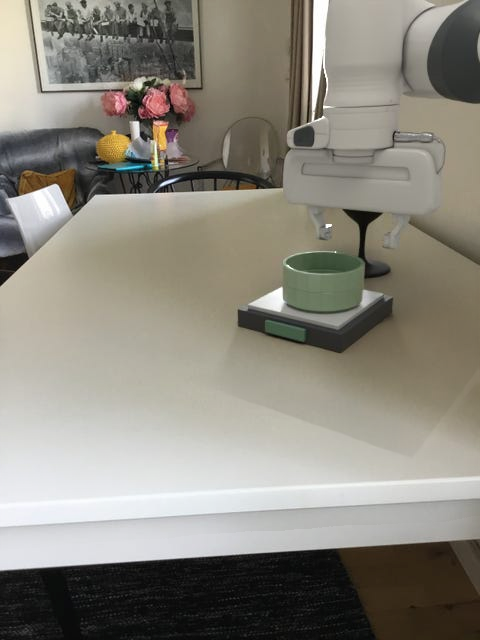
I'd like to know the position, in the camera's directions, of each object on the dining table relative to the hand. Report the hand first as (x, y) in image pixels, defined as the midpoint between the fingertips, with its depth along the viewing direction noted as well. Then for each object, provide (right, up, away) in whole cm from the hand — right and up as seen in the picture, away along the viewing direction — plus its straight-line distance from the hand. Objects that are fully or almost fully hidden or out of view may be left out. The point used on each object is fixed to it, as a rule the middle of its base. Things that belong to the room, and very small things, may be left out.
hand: (356, 243), depth 73 cm
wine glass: (+7, -1, +29) cm, 29 cm away
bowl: (-4, -7, +6) cm, 10 cm away
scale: (-4, -10, +7) cm, 13 cm away
